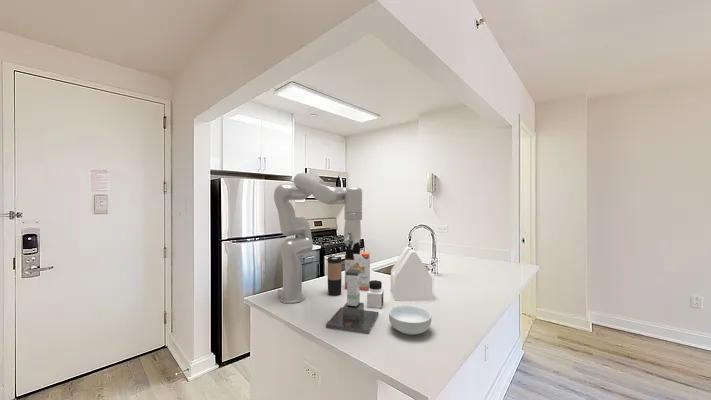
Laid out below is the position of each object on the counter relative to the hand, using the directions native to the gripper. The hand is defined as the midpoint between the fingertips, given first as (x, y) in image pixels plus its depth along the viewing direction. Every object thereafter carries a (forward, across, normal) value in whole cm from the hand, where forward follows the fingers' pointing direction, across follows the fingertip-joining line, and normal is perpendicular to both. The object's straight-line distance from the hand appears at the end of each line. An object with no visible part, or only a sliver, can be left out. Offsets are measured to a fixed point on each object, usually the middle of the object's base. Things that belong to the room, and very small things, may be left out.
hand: (353, 256), depth 120 cm
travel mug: (+28, -29, -20) cm, 45 cm away
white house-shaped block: (+28, -39, +20) cm, 52 cm away
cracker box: (+28, -41, -10) cm, 51 cm away
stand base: (+28, 0, 0) cm, 28 cm away
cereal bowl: (+28, +1, +24) cm, 37 cm away
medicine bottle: (+28, -20, +5) cm, 35 cm away
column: (+20, 0, 0) cm, 20 cm away
